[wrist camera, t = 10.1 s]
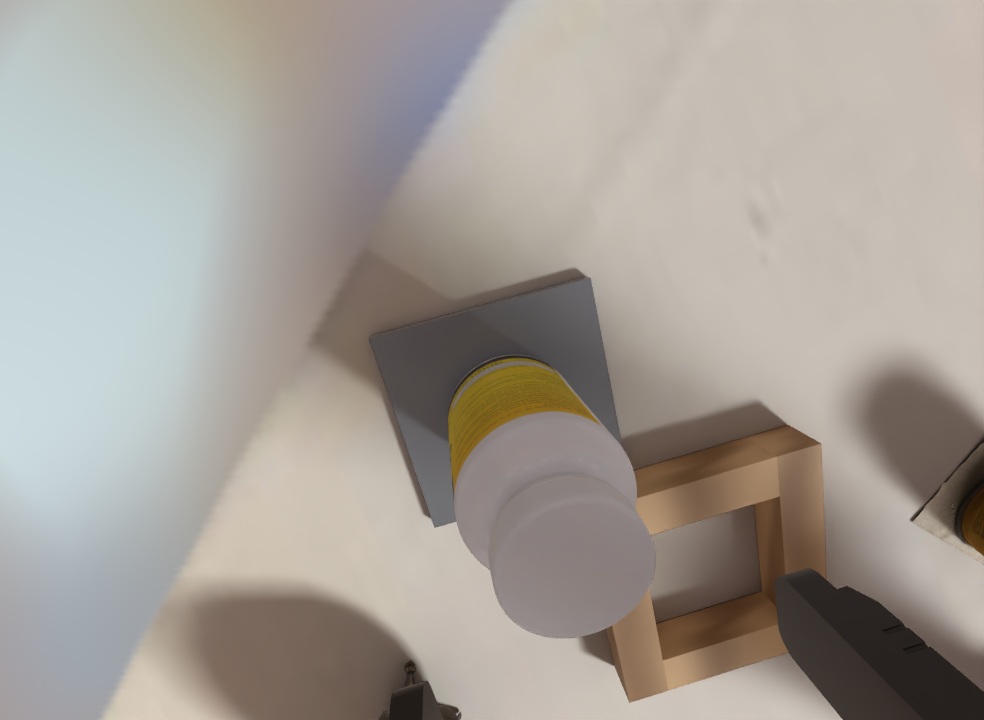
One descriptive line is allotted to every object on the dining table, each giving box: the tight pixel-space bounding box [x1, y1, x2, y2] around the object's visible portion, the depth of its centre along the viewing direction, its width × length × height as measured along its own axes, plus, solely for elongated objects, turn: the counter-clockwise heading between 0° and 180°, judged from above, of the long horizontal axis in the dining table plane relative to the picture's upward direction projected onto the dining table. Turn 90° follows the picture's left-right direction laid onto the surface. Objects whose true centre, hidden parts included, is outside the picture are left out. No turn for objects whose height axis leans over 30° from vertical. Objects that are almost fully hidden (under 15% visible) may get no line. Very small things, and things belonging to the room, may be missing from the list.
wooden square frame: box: [606, 425, 827, 703], centre depth 28 cm, size 13×14×2 cm
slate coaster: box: [369, 276, 622, 528], centre depth 24 cm, size 11×11×1 cm
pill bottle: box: [448, 355, 656, 638], centre depth 18 cm, size 6×6×12 cm
